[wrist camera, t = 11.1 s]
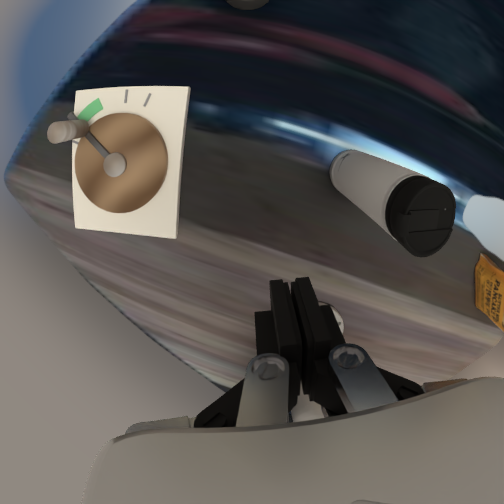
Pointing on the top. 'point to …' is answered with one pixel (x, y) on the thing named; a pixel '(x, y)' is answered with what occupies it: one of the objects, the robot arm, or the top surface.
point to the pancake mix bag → (490, 289)
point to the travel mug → (397, 200)
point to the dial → (116, 159)
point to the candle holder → (247, 4)
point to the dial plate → (173, 132)
